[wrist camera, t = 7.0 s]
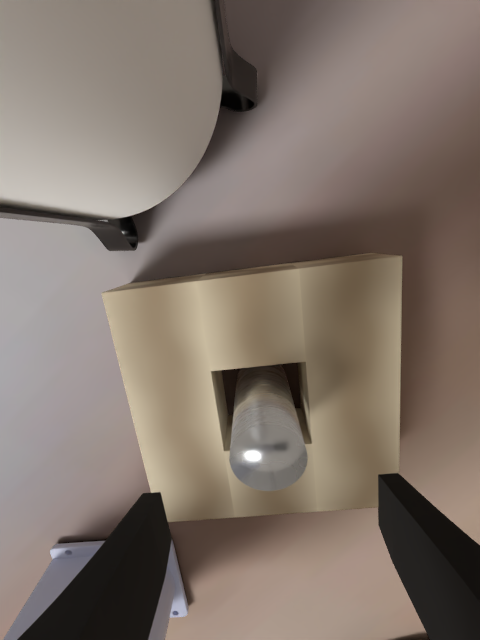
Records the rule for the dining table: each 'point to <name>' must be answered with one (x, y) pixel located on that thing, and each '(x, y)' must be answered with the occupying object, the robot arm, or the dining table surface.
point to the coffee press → (110, 106)
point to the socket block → (261, 350)
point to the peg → (266, 430)
